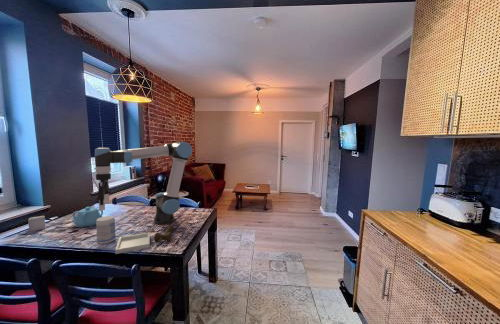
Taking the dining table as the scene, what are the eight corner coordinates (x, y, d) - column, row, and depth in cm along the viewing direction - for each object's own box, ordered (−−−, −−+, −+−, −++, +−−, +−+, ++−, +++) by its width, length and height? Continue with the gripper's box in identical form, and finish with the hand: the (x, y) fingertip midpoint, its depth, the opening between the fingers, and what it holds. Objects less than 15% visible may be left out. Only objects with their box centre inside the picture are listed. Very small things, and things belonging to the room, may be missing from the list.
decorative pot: (70, 225, 149) (69, 208, 148) (96, 219, 163) (95, 202, 162) (80, 231, 141) (78, 212, 140) (105, 223, 155) (105, 206, 153)
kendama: (177, 232, 142) (167, 246, 122) (164, 233, 142) (151, 246, 122) (177, 224, 142) (166, 236, 122) (163, 224, 141) (150, 237, 121)
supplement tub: (115, 242, 126) (114, 219, 125) (96, 246, 121) (95, 222, 119) (115, 236, 134) (114, 214, 133) (97, 239, 129) (96, 217, 127)
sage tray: (149, 235, 135) (149, 232, 135) (149, 247, 120) (149, 243, 120) (119, 240, 128) (119, 237, 127) (115, 254, 112) (115, 249, 112)
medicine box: (45, 226, 147) (44, 215, 146) (45, 228, 144) (44, 216, 143) (29, 229, 141) (28, 218, 141) (29, 232, 138) (28, 219, 137)
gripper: (100, 170, 133) (101, 202, 135) (90, 176, 111) (91, 213, 113) (113, 170, 136) (114, 201, 138) (106, 175, 114) (108, 212, 116)
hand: (104, 206), depth 125 cm, fingers open, 13 cm apart
